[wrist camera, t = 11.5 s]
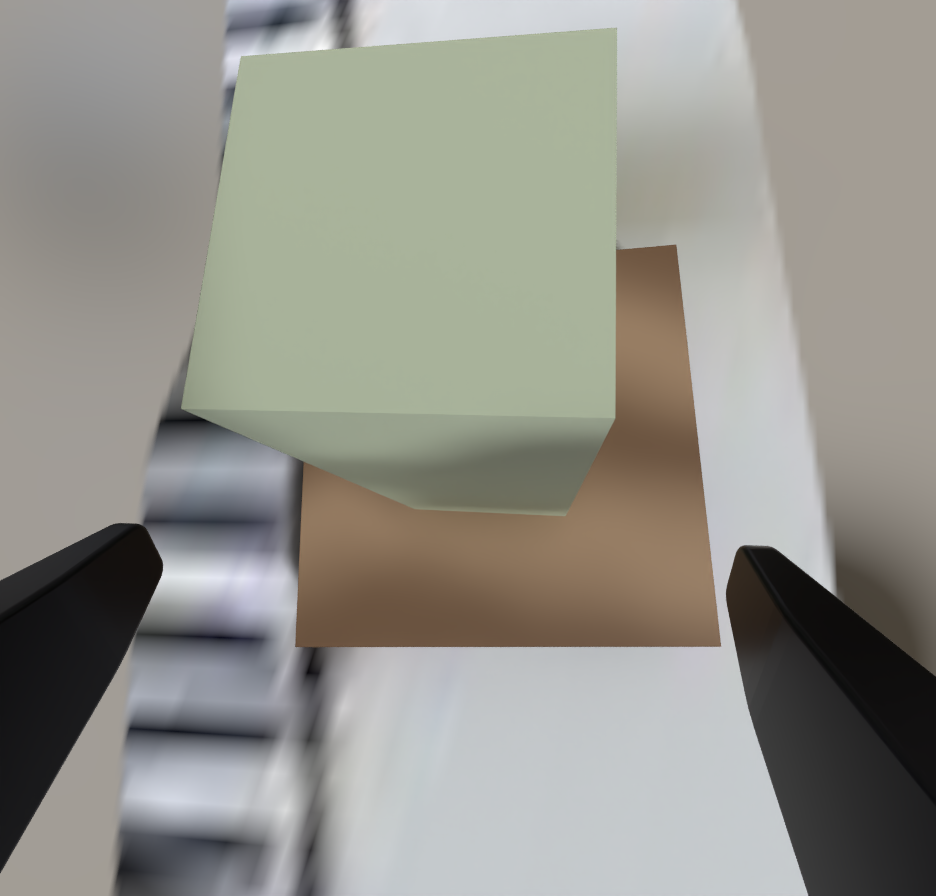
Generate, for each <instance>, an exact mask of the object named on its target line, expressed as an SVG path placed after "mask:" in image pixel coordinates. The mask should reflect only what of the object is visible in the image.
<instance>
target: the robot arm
mask: <svg viewBox="0 0 936 896" xmlns="http://www.w3.org/2000/svg"><path fill="white" fill-rule="evenodd" d="M162 572H163V562H162V559H161V557H160V555H159V553H158V551H157V549H156V547H155V545H154V543H153V541H152V539H151V537H150V535H149V533H148V531H147V529H146V528H145V527H144V526H142V525H140V524H130V523H118V524H113V525H110V526H108V527H106V528H104V529H102V530H100V531H98V532H96V533H94V534H92V535H90V536H88V537H86V538H84V539H82V540H80V541H78V542H76V543H74V544H72V545H70V546H68V547H66V548H64V549H62V550H60V551H59V552H56V553H54V554H52V555H50V556H48V557H46V558H44V559H43V560H41V561H39V562H36V563H34V564H33V565H30V566H28V567H26V568H24V569H23V570H20V571H18V572H17V573H15V574H12V575H11V576H9V577H7V578H5V579H3V580H1V581H0V873H1V871H2V869H3V868H4V866H5V864H6V862H7V861H8V859H9V857H10V855H11V854H12V852H13V850H14V849H15V847H16V845H17V843H18V842H19V840H20V838H21V836H22V835H23V833H24V831H25V830H26V828H27V826H28V824H29V822H30V821H31V819H32V817H33V816H34V814H35V812H36V810H37V809H38V807H39V805H40V804H41V802H42V800H43V798H44V797H45V795H46V793H47V791H48V790H49V788H50V786H51V784H52V783H53V781H54V779H55V777H56V776H57V774H58V772H59V771H60V769H61V767H62V765H63V764H64V762H65V760H66V758H67V757H68V755H69V753H70V751H71V750H72V748H73V746H74V744H75V743H76V741H77V739H78V738H79V736H80V734H81V732H82V731H83V729H84V727H85V726H86V724H87V722H88V720H89V719H90V717H91V715H92V713H93V712H94V710H95V708H96V707H97V705H98V703H99V701H100V700H101V698H102V696H103V694H104V693H105V691H106V689H107V687H108V686H109V684H110V682H111V680H112V679H113V677H114V675H115V673H116V672H117V670H118V668H119V666H120V664H121V662H122V660H123V658H124V656H125V654H126V652H127V650H128V648H129V646H130V644H131V641H132V639H133V637H134V635H135V633H136V631H137V628H138V626H139V624H140V622H141V620H142V617H143V615H144V613H145V611H146V609H147V607H148V604H149V602H150V600H151V598H152V596H153V594H154V591H155V589H156V587H157V585H158V583H159V580H160V578H161V576H162ZM726 601H727V607H728V612H729V617H730V622H731V627H732V632H733V637H734V642H735V647H736V652H737V657H738V662H739V667H740V672H741V676H742V681H743V686H744V691H745V696H746V700H747V705H748V709H749V712H750V716H751V719H752V722H753V726H754V729H755V732H756V735H757V738H758V741H759V745H760V748H761V751H762V754H763V757H764V760H765V763H766V766H767V769H768V772H769V775H770V778H771V782H772V785H773V788H774V791H775V794H776V797H777V800H778V803H779V806H780V809H781V812H782V816H783V819H784V822H785V825H786V828H787V831H788V834H789V837H790V840H791V843H792V846H793V849H794V853H795V856H796V859H797V862H798V865H799V868H800V871H801V874H802V877H803V880H804V883H805V887H806V890H807V893H808V896H936V676H934V675H933V674H932V673H931V672H930V671H928V670H927V669H926V668H925V667H923V666H922V665H921V664H920V663H918V662H917V661H916V660H914V659H913V658H912V657H911V656H909V655H908V654H907V653H906V652H904V651H903V650H902V649H901V648H899V647H898V646H897V645H896V644H894V643H893V642H892V641H891V640H889V639H888V638H887V637H886V636H884V635H883V634H882V633H881V632H879V631H878V630H877V629H876V628H874V627H873V626H872V625H871V624H869V623H868V622H867V621H866V620H864V619H863V618H862V617H861V616H859V615H858V614H857V613H856V612H854V611H853V610H852V609H850V608H849V607H848V606H847V605H845V604H844V603H843V602H842V601H841V600H839V599H838V598H837V597H835V596H834V595H833V594H832V593H830V592H829V591H828V590H827V589H825V588H824V587H823V586H822V585H820V584H819V583H818V582H817V581H815V580H814V579H813V578H812V577H810V576H809V575H808V574H807V573H805V572H804V571H803V570H802V569H800V568H799V567H798V566H797V565H795V564H794V563H793V562H792V561H790V560H789V559H788V558H787V557H785V556H784V555H783V554H782V553H780V552H779V551H778V550H776V549H775V548H773V547H770V546H752V545H744V546H741V547H740V548H739V549H738V550H737V552H736V555H735V559H734V562H733V566H732V569H731V573H730V577H729V580H728V584H727V588H726Z"/></svg>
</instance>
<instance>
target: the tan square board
mask: <svg viewBox="0 0 936 896" xmlns="http://www.w3.org/2000/svg"><path fill="white" fill-rule="evenodd" d="M295 647H721V642H720V633H719V624H718V615H717V606H716V597H715V588H714V579H713V570H712V561H711V552H710V543H709V534H708V525H707V516H706V507H705V498H704V489H703V481H702V472H701V463H700V454H699V445H698V436H697V427H696V418H695V409H694V400H693V391H692V382H691V373H690V364H689V355H688V346H687V337H686V328H685V319H684V310H683V301H682V292H681V283H680V274H679V265H678V256H677V247H676V245H667V246H656V247H645V248H634V249H623V250H616V393H615V420H614V422H613V424H612V426H611V428H610V430H609V432H608V434H607V436H606V438H605V440H604V442H603V444H602V446H601V448H600V449H599V451H598V453H597V455H596V457H595V459H594V461H593V463H592V465H591V467H590V469H589V471H588V473H587V475H586V477H585V479H584V481H583V483H582V485H581V487H580V489H579V491H578V493H577V495H576V497H575V499H574V501H573V503H572V504H571V506H570V508H569V510H568V512H567V514H566V516H549V515H527V514H506V513H485V512H464V511H442V510H421V509H413V508H411V507H408V506H406V505H404V504H401V503H399V502H397V501H394V500H392V499H390V498H387V497H385V496H383V495H380V494H378V493H376V492H373V491H371V490H369V489H366V488H364V487H362V486H360V485H357V484H355V483H353V482H350V481H348V480H346V479H343V478H341V477H339V476H336V475H334V474H332V473H329V472H327V471H325V470H322V469H320V468H318V467H315V466H313V465H311V464H308V463H306V462H304V467H303V489H302V511H301V533H300V555H299V577H298V600H297V622H296V644H295Z"/></svg>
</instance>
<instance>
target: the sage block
mask: <svg viewBox="0 0 936 896" xmlns="http://www.w3.org/2000/svg"><path fill="white" fill-rule="evenodd" d="M616 131H617V28H607V29H594V30H581V31H567V32H554V33H541V34H528V35H515V36H502V37H489V38H476V39H463V40H449V41H436V42H423V43H410V44H397V45H384V46H371V47H358V48H344V49H331V50H318V51H305V52H292V53H279V54H266V55H253V56H241V59H240V65H239V70H238V76H237V82H236V88H235V94H234V100H233V106H232V112H231V117H230V123H229V129H228V135H227V141H226V147H225V153H224V159H223V164H222V170H221V176H220V182H219V188H218V194H217V200H216V206H215V212H214V217H213V223H212V229H211V235H210V241H209V247H208V253H207V258H206V264H205V270H204V277H203V282H202V288H201V294H200V300H199V305H198V311H197V317H196V323H195V329H194V335H193V341H192V347H191V352H190V358H189V364H188V370H187V376H186V382H185V388H184V394H183V399H182V405H181V409H183V410H185V411H187V412H190V413H192V414H194V415H197V416H199V417H201V418H204V419H206V420H208V421H210V422H213V423H215V424H217V425H220V426H222V427H224V428H227V429H229V430H231V431H234V432H236V433H238V434H241V435H243V436H245V437H248V438H250V439H252V440H255V441H257V442H259V443H262V444H264V445H266V446H269V447H271V448H273V449H276V450H278V451H280V452H283V453H285V454H287V455H290V456H292V457H294V458H297V459H299V460H301V461H304V462H306V463H308V464H311V465H313V466H315V467H318V468H320V469H322V470H325V471H327V472H329V473H332V474H334V475H336V476H339V477H341V478H343V479H346V480H348V481H350V482H353V483H355V484H357V485H360V486H362V487H364V488H366V489H369V490H371V491H373V492H376V493H378V494H380V495H383V496H385V497H387V498H390V499H392V500H394V501H397V502H399V503H401V504H404V505H406V506H408V507H411V508H413V509H421V510H442V511H464V512H485V513H506V514H527V515H549V516H566V514H567V512H568V510H569V508H570V506H571V504H572V503H573V501H574V499H575V497H576V495H577V493H578V491H579V489H580V487H581V485H582V483H583V481H584V479H585V477H586V475H587V473H588V471H589V469H590V467H591V465H592V463H593V461H594V459H595V457H596V455H597V453H598V451H599V449H600V448H601V446H602V444H603V442H604V440H605V438H606V436H607V434H608V432H609V430H610V428H611V426H612V424H613V422H614V420H615V393H616Z"/></svg>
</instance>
